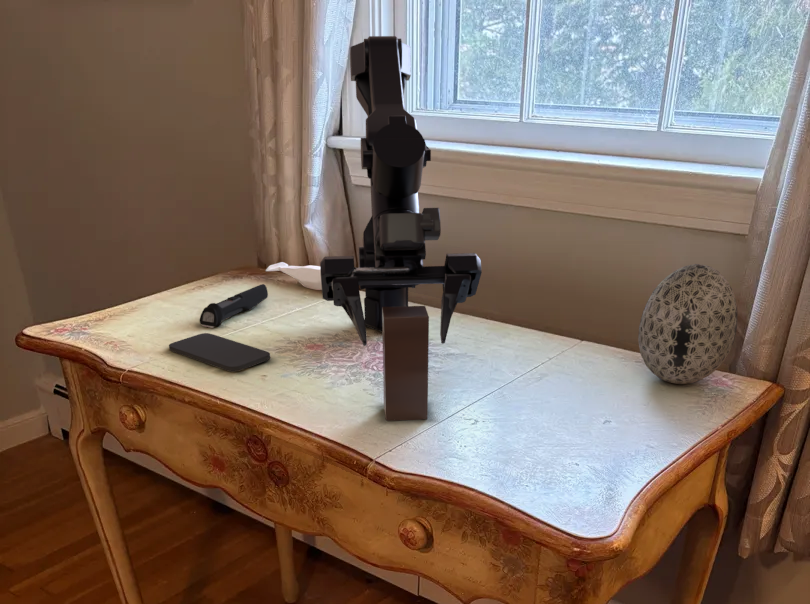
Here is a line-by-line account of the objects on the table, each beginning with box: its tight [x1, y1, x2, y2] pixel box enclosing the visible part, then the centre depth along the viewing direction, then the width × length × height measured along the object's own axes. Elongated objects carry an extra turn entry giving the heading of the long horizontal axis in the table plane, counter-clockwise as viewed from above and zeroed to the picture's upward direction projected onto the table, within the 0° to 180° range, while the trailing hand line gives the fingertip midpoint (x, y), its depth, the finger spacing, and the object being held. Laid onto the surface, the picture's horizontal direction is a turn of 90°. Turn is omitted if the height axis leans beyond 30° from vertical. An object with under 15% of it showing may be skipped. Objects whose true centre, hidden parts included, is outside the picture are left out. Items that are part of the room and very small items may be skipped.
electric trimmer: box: [199, 283, 269, 329], centre depth 128 cm, size 4×16×3 cm, turn 153°
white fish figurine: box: [265, 261, 322, 291], centre depth 141 cm, size 6×18×4 cm, turn 52°
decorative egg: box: [637, 263, 738, 385], centre depth 100 cm, size 12×12×15 cm
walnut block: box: [382, 305, 430, 422], centre depth 93 cm, size 4×5×12 cm
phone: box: [168, 332, 271, 373], centre depth 113 cm, size 7×1×15 cm
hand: (404, 343), depth 92 cm, fingers open, 9 cm apart
